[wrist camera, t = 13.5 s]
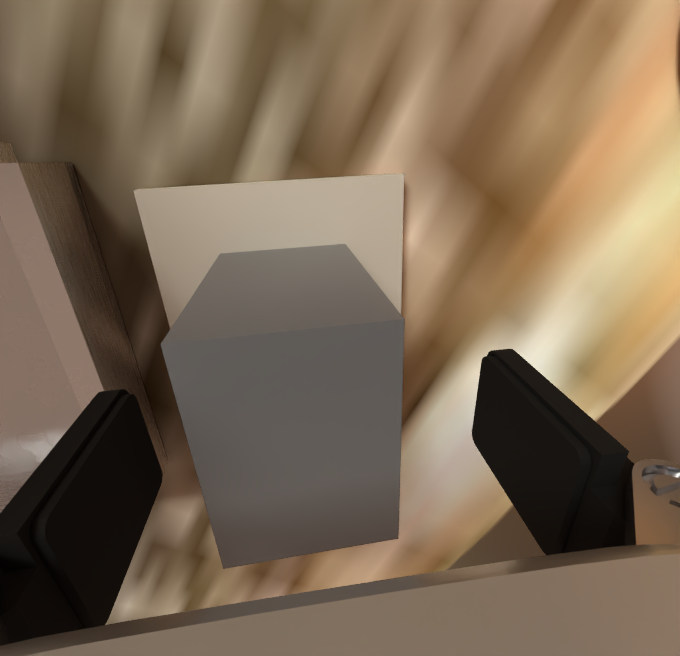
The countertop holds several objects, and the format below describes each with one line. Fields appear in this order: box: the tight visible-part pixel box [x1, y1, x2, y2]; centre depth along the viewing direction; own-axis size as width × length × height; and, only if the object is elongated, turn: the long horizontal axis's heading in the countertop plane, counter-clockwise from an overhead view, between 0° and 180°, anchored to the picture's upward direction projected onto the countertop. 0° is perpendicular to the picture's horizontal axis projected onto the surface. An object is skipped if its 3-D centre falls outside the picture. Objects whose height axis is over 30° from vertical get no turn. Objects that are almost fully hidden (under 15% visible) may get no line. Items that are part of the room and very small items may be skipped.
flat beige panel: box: [133, 173, 404, 329], centre depth 17 cm, size 10×12×1 cm
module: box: [160, 244, 405, 569], centre depth 13 cm, size 5×7×8 cm
